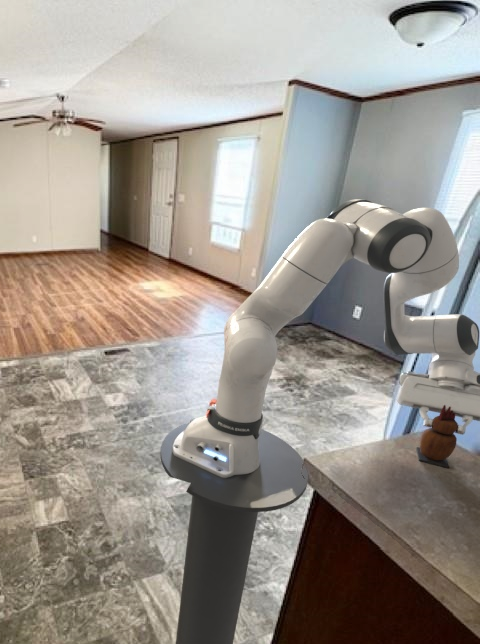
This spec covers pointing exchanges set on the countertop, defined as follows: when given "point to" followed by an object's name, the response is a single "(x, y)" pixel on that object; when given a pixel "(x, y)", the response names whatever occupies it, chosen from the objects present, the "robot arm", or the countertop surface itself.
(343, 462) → the countertop surface
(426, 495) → the countertop surface
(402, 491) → the countertop surface
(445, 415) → the wooden figurine
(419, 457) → the coaster
